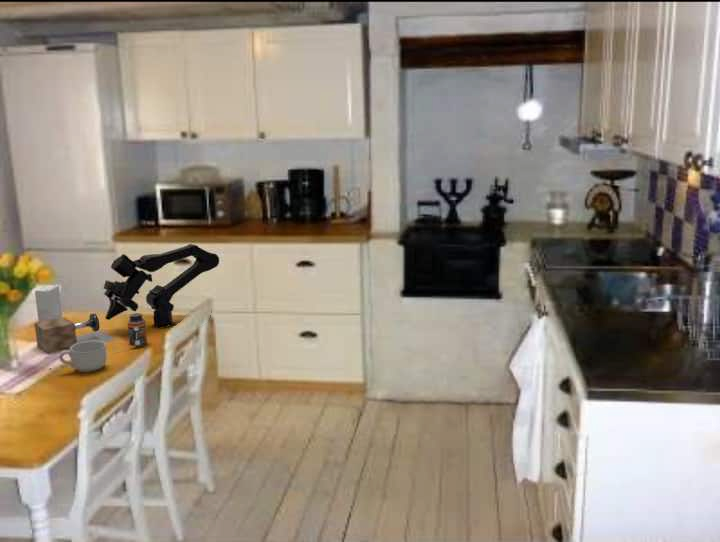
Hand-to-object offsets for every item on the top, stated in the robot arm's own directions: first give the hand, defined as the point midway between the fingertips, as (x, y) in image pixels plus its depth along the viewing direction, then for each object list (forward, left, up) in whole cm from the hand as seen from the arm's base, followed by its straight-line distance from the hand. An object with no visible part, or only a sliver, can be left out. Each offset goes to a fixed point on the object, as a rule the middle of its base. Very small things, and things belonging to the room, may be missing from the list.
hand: (106, 319), depth 247 cm
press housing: (+17, -6, -6) cm, 19 cm away
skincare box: (-3, -37, -7) cm, 38 cm away
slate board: (+11, -4, -7) cm, 14 cm away
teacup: (+27, +20, -7) cm, 34 cm away
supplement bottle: (+2, +17, -7) cm, 19 cm away
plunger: (+9, -3, -3) cm, 10 cm away
